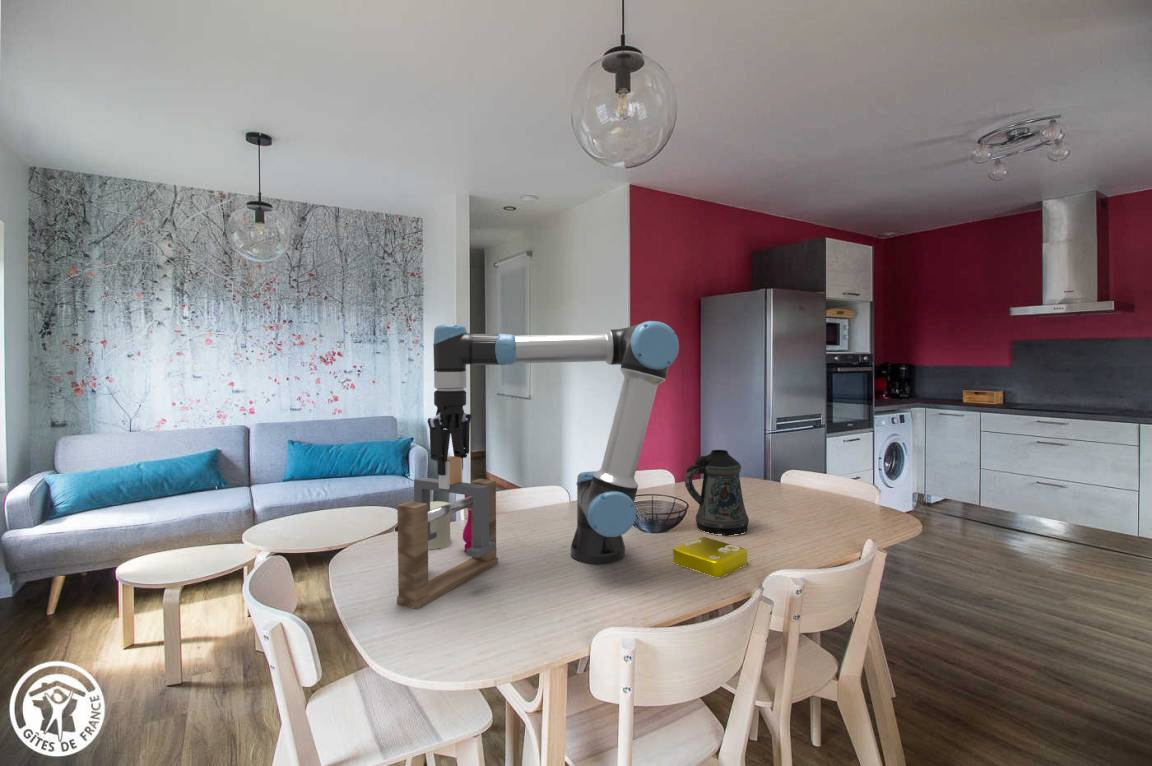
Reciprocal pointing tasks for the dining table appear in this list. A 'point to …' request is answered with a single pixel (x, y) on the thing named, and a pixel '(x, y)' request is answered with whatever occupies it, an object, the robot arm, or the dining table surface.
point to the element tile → (710, 556)
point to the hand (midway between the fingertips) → (450, 486)
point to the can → (440, 528)
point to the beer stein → (718, 494)
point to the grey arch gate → (456, 486)
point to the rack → (415, 550)
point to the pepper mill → (468, 530)
